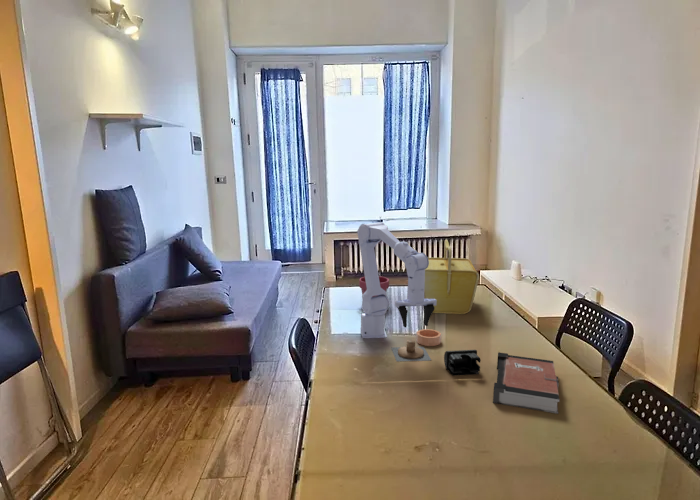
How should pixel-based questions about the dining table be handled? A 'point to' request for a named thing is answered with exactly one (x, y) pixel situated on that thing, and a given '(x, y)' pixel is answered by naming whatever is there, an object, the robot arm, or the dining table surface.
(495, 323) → the dining table surface
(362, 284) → the plant pot
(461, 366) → the end cap
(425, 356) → the mat
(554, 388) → the book
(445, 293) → the picnic basket
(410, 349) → the lid
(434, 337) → the bowl
